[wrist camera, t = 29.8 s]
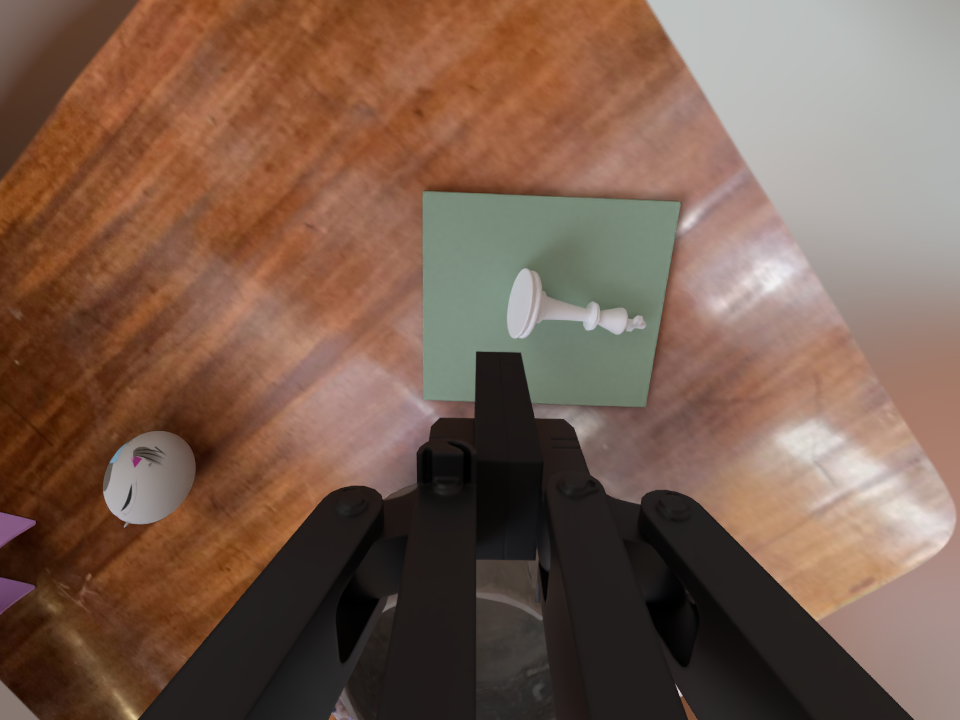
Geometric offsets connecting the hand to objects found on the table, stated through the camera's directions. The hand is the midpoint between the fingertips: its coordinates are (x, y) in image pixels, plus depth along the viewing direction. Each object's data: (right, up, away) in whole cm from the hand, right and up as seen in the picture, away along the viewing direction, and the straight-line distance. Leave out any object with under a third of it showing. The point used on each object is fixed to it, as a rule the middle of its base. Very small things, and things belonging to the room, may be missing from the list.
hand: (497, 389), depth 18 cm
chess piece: (+2, +5, +19) cm, 19 cm away
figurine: (-26, -7, +27) cm, 38 cm away
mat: (+4, +5, +22) cm, 23 cm away
